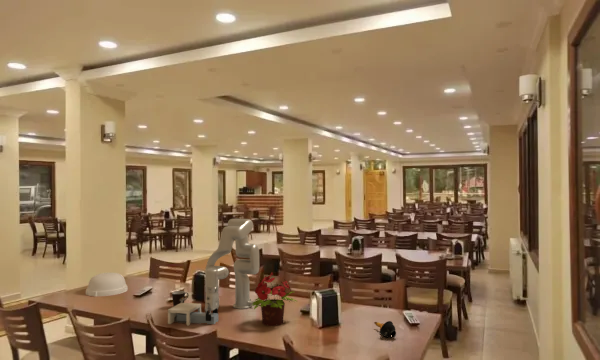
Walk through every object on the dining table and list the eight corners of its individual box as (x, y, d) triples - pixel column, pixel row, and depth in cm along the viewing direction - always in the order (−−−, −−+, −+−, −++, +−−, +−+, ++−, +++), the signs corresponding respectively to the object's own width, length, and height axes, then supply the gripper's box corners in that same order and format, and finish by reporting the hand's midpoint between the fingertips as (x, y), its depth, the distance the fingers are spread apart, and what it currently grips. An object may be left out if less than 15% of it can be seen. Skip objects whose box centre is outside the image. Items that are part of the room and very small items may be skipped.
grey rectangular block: (218, 321, 262) (218, 313, 262) (214, 324, 255) (213, 316, 255) (181, 318, 267) (181, 311, 267) (176, 321, 261) (176, 314, 261)
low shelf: (201, 317, 269) (201, 303, 269) (188, 325, 254) (188, 311, 254) (181, 315, 272) (181, 302, 272) (167, 323, 257) (167, 309, 257)
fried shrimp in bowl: (386, 332, 225) (364, 313, 240) (388, 347, 230) (366, 328, 245) (399, 323, 229) (377, 305, 243) (401, 338, 234) (379, 320, 248)
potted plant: (267, 314, 275) (267, 266, 276) (304, 320, 262) (304, 270, 262) (237, 327, 250) (237, 274, 250) (277, 335, 236) (276, 279, 237)
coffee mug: (173, 310, 286) (173, 294, 286) (170, 306, 293) (170, 291, 293) (191, 307, 291) (191, 292, 291) (188, 304, 299) (188, 289, 299)
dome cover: (100, 286, 355) (100, 269, 356) (135, 287, 352) (135, 269, 352) (76, 296, 324) (76, 277, 324) (114, 297, 320) (114, 278, 320)
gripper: (211, 293, 250) (211, 323, 250) (223, 286, 267) (223, 314, 267) (199, 292, 252) (199, 322, 252) (212, 286, 269) (212, 313, 268)
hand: (211, 318), depth 259 cm, fingers open, 9 cm apart
